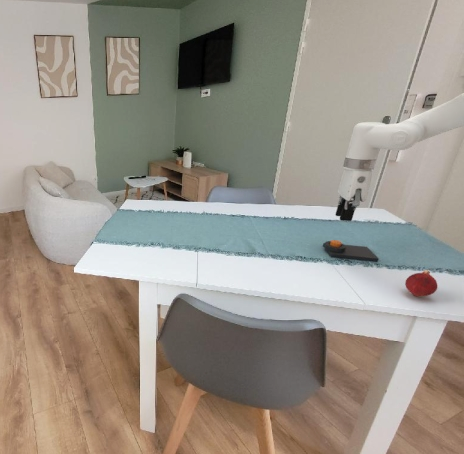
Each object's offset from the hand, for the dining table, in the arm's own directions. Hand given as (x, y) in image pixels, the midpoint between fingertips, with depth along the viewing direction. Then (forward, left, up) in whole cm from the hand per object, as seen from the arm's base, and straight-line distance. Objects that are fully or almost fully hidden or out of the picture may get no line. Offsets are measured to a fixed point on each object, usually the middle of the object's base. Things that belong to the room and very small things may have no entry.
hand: (343, 217), depth 98 cm
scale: (-4, -2, -13) cm, 14 cm away
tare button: (0, 0, -11) cm, 11 cm away
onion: (-20, +17, -13) cm, 29 cm away
